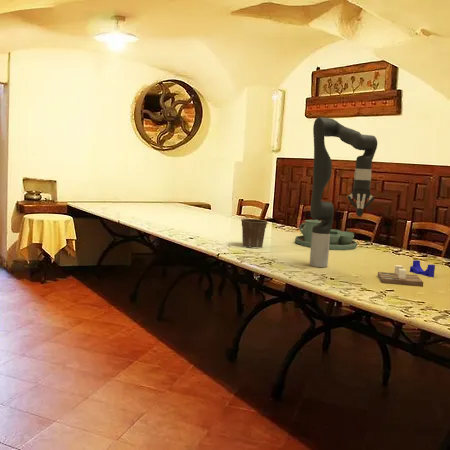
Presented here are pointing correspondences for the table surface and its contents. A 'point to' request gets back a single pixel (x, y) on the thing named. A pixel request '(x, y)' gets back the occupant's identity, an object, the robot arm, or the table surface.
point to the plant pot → (253, 232)
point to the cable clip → (418, 270)
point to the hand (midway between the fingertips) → (359, 216)
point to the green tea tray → (337, 237)
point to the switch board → (394, 279)
